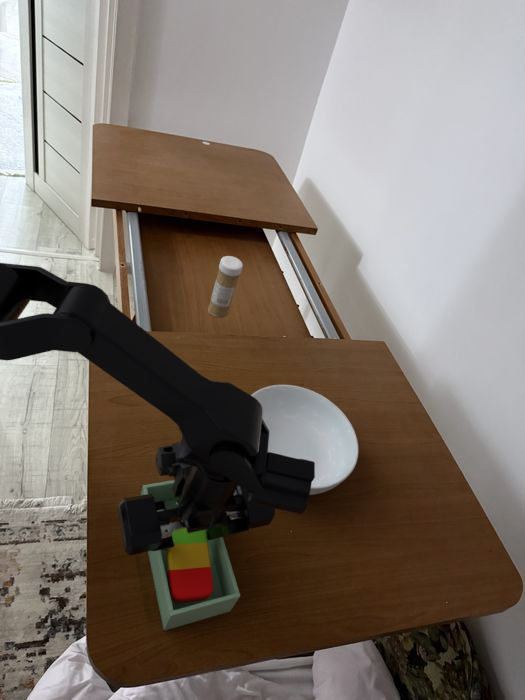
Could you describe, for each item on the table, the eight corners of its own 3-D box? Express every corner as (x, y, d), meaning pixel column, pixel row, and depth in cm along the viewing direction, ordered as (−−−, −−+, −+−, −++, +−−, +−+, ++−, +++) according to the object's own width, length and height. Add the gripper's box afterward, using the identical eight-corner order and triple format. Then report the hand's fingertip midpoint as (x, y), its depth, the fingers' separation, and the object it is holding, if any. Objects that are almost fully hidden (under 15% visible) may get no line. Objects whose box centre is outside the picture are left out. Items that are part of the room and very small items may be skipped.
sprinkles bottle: (230, 310, 111) (246, 260, 102) (223, 321, 108) (239, 271, 99) (211, 302, 111) (225, 252, 102) (204, 313, 108) (217, 262, 99)
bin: (230, 611, 67) (240, 596, 63) (163, 631, 63) (170, 616, 59) (197, 493, 78) (204, 474, 74) (138, 504, 74) (142, 485, 70)
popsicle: (168, 605, 62) (171, 599, 61) (161, 495, 72) (163, 488, 71) (212, 601, 64) (215, 595, 63) (199, 493, 74) (202, 487, 73)
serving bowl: (357, 445, 94) (373, 423, 89) (318, 534, 79) (335, 513, 74) (261, 389, 97) (272, 365, 92) (206, 465, 82) (215, 440, 77)
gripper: (262, 415, 66) (233, 478, 77) (116, 432, 58) (106, 499, 69) (293, 491, 59) (257, 548, 70) (133, 522, 51) (119, 581, 62)
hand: (187, 541), depth 68 cm, fingers closed on popsicle, 6 cm apart
